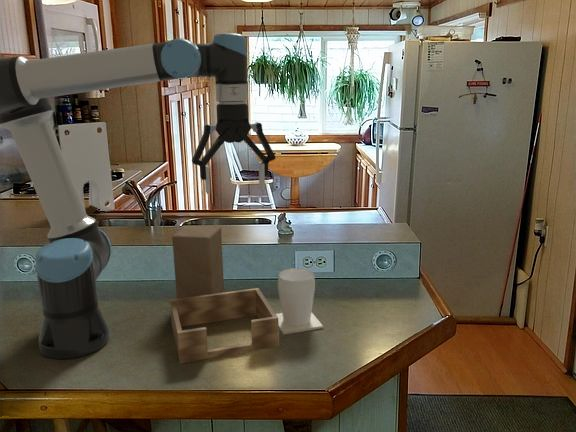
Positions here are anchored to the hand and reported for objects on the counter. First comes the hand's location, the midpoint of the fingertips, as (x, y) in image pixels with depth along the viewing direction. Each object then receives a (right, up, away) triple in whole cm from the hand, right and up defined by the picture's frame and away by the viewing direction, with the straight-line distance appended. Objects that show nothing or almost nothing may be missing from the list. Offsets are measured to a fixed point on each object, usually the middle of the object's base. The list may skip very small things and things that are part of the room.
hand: (235, 190), depth 129 cm
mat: (+15, -32, 0) cm, 36 cm away
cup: (+15, -32, 0) cm, 35 cm away
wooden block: (-10, -30, +12) cm, 34 cm away
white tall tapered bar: (-79, -4, +111) cm, 137 cm away
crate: (-2, -34, -6) cm, 35 cm away
